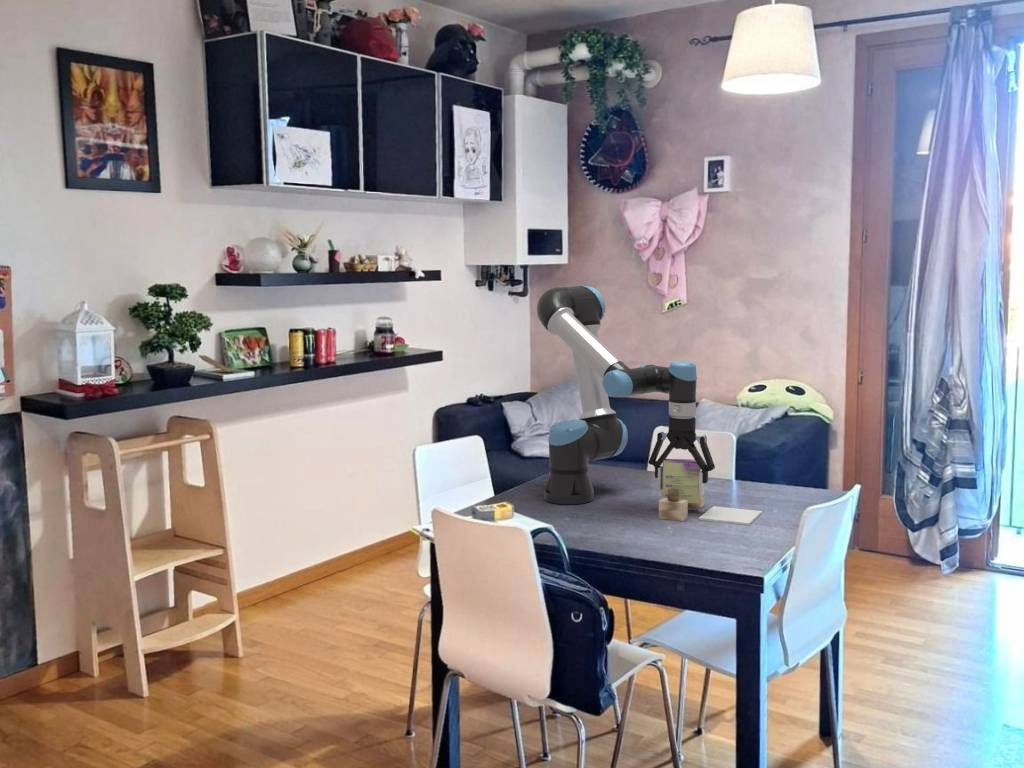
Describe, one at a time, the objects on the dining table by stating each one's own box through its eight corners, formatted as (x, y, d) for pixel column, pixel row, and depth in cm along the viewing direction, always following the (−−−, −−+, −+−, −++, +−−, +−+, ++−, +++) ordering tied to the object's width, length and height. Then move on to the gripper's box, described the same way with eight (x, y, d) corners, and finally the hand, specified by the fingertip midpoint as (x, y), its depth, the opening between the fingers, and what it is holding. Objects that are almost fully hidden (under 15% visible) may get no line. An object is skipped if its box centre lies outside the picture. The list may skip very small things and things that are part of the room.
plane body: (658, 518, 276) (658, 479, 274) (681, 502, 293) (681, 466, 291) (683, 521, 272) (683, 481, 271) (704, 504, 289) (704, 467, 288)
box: (698, 498, 285) (699, 458, 283) (700, 504, 279) (700, 463, 278) (661, 498, 286) (662, 458, 284) (662, 503, 280) (663, 462, 279)
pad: (698, 519, 273) (698, 517, 273) (713, 508, 285) (713, 506, 285) (749, 525, 267) (749, 523, 266) (762, 513, 279) (762, 511, 279)
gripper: (637, 415, 281) (636, 489, 285) (719, 421, 270) (718, 499, 273) (646, 411, 288) (646, 484, 291) (727, 417, 277) (725, 493, 280)
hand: (680, 491), depth 282 cm, fingers closed on box, 11 cm apart
